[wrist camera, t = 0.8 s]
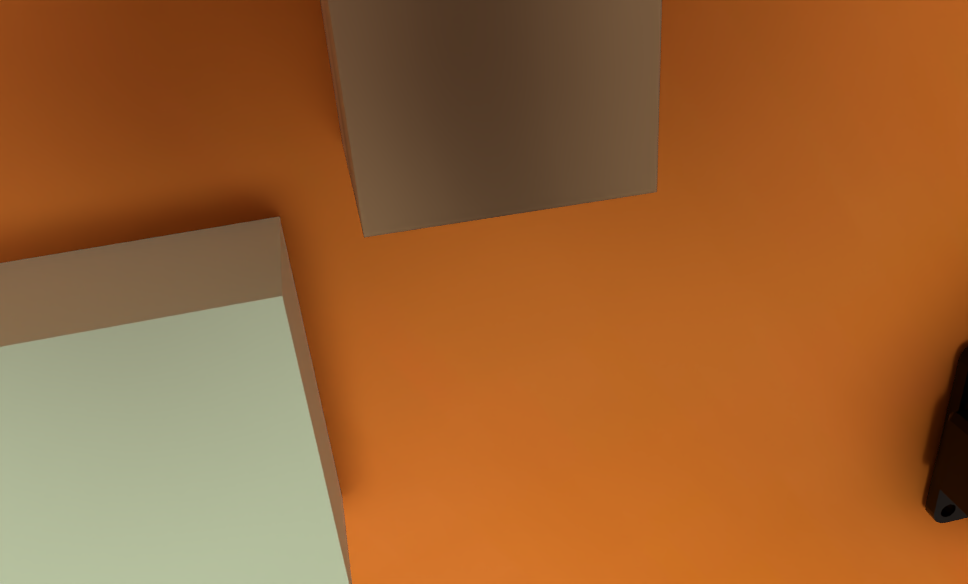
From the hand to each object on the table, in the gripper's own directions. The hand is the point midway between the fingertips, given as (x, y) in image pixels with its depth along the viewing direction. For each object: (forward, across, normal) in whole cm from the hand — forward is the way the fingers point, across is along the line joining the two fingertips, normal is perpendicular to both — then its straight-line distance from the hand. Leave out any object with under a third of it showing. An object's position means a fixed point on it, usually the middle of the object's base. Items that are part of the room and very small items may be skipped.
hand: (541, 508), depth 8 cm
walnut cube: (+12, -2, -2) cm, 13 cm away
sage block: (+12, +7, +5) cm, 15 cm away
